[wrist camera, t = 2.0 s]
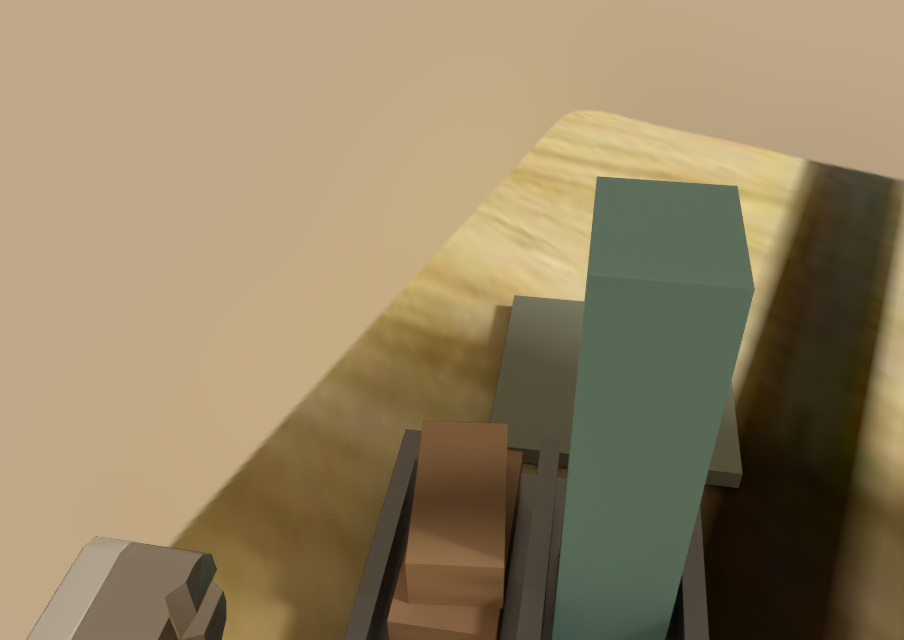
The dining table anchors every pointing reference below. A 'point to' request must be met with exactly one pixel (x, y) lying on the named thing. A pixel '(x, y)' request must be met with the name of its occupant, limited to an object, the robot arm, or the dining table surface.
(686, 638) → the rack
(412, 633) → the lower walnut offcut
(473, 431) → the upper walnut offcut
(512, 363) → the rubber mat
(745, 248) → the teal rectangular block
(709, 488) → the dining table surface
